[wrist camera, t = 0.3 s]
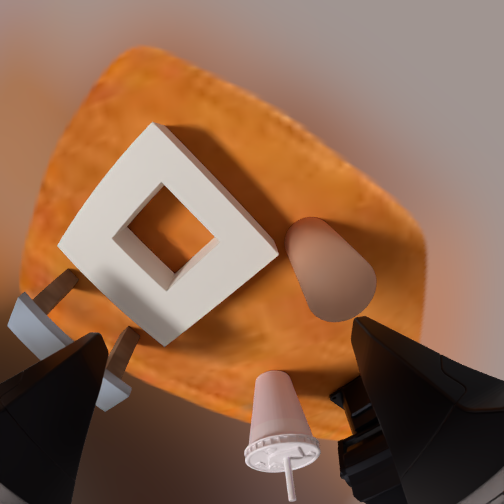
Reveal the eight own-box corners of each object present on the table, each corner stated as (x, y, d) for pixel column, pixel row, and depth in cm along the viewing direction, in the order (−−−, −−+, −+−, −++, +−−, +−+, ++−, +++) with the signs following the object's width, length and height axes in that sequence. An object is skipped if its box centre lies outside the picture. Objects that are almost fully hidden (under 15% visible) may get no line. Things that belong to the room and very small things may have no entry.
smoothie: (314, 369, 27) (348, 487, 13) (285, 404, 29) (302, 511, 15) (258, 354, 25) (270, 489, 12) (233, 392, 27) (233, 509, 14)
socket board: (273, 240, 21) (278, 254, 19) (171, 326, 24) (164, 346, 21) (164, 125, 18) (152, 122, 15) (75, 234, 20) (57, 245, 18)
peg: (342, 243, 22) (387, 290, 14) (305, 274, 23) (332, 333, 15) (313, 206, 21) (352, 239, 13) (273, 240, 21) (291, 290, 14)
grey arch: (157, 324, 24) (129, 396, 16) (134, 344, 25) (105, 411, 16) (77, 249, 21) (18, 297, 13) (60, 276, 22) (7, 325, 14)
